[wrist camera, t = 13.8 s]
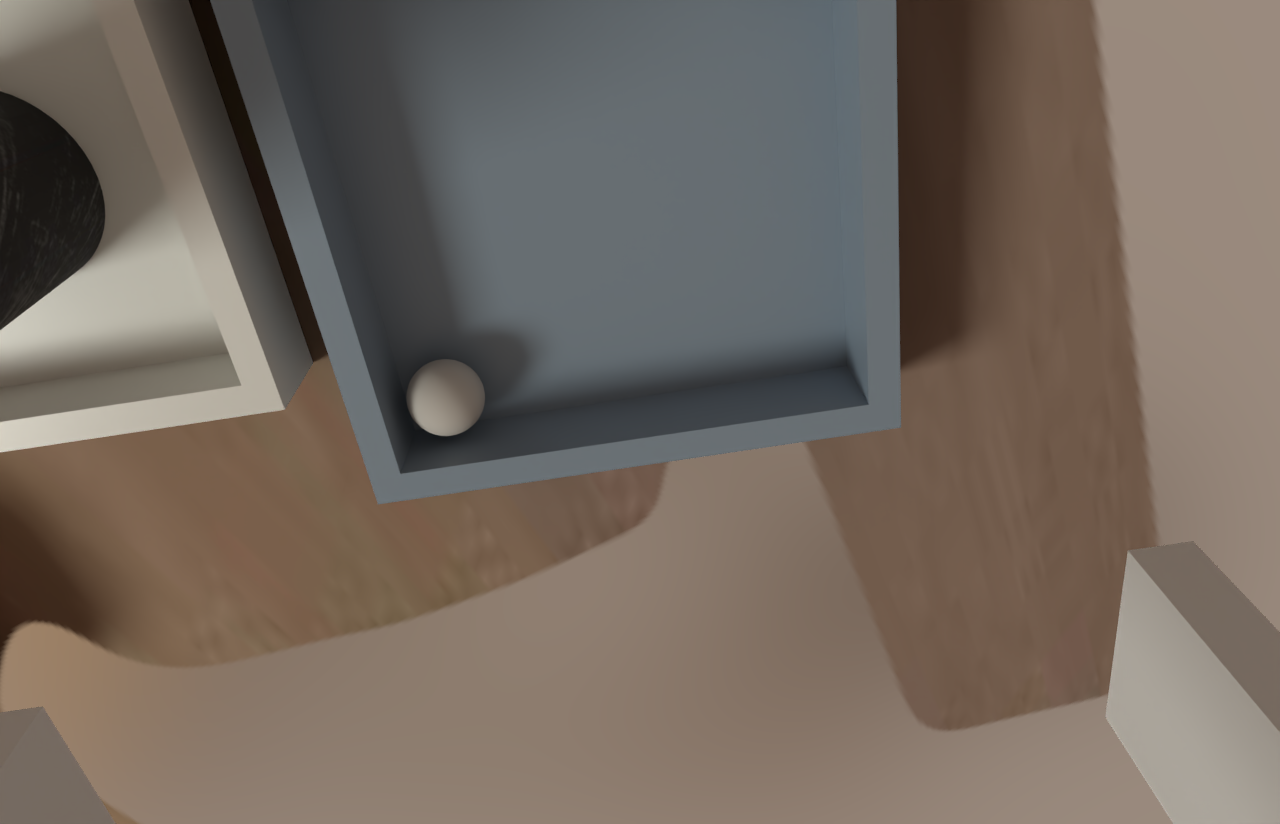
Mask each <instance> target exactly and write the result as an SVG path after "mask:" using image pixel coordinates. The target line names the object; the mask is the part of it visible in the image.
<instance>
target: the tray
mask: <svg viewBox="0 0 1280 824" xmlns="http://www.w3.org/2000/svg"><path fill="white" fill-rule="evenodd" d="M0 91H1V92H4V93H7V94H10V95H13V96H15V97H17V98H20V99H22V100H24V101H26V102H28V103H30V104H32V105H33V106H35V107H37V108H39V109H40V110H42V111H43V112H44V113H46V114H47V115H49V116H50V117H51V118H53V119H54V120H55V121H56V122H57V123H58V124H60V125H61V126H62V127H63V128H64V129H65V130H66V131H67V132H68V133H69V134H70V135H71V136H72V137H73V138H74V140H75V141H76V142H77V143H78V145H79V146H80V147H81V149H82V150H83V151H84V153H85V154H86V156H87V157H88V159H89V161H90V162H91V164H92V166H93V168H94V170H95V172H96V175H97V177H98V179H99V182H100V185H101V189H102V192H103V197H104V203H105V225H104V231H103V235H102V238H101V241H100V243H99V245H98V248H97V250H96V251H95V253H94V254H93V256H92V257H91V259H90V260H89V261H88V262H87V263H86V264H85V265H84V266H83V267H82V268H81V269H79V270H78V271H77V272H76V273H74V274H73V275H72V276H71V277H69V278H68V279H67V280H65V281H64V282H63V283H61V284H60V285H59V286H58V287H56V288H55V289H54V290H52V291H51V292H50V293H48V294H47V295H46V296H44V297H43V298H42V299H41V300H39V301H38V302H37V303H35V304H34V305H33V306H31V307H30V308H29V309H27V310H26V311H25V312H23V313H22V314H21V315H20V316H18V317H17V318H16V319H14V320H13V321H12V322H10V323H9V324H8V325H6V326H5V327H4V328H3V329H1V330H0V452H6V451H13V450H19V449H26V448H33V447H39V446H46V445H52V444H59V443H66V442H72V441H79V440H86V439H92V438H99V437H106V436H112V435H119V434H126V433H132V432H139V431H146V430H152V429H159V428H166V427H172V426H179V425H186V424H192V423H199V422H206V421H212V420H219V419H226V418H232V417H239V416H246V415H252V414H259V413H266V412H272V411H279V410H285V408H286V407H287V405H288V404H289V402H290V400H291V399H292V397H293V395H294V394H295V392H296V390H297V389H298V387H299V385H300V384H301V382H302V381H303V379H304V377H305V376H306V374H307V372H308V371H309V369H310V367H311V366H312V364H313V361H312V358H311V355H310V352H309V349H308V347H307V344H306V341H305V338H304V335H303V332H302V329H301V326H300V323H299V320H298V317H297V315H296V312H295V309H294V306H293V303H292V300H291V297H290V294H289V291H288V288H287V285H286V283H285V280H284V277H283V274H282V271H281V268H280V265H279V262H278V259H277V256H276V253H275V250H274V248H273V245H272V242H271V239H270V236H269V233H268V230H267V227H266V224H265V221H264V218H263V216H262V213H261V210H260V207H259V204H258V201H257V198H256V195H255V192H254V189H253V186H252V184H251V181H250V178H249V175H248V172H247V169H246V166H245V163H244V160H243V157H242V154H241V152H240V149H239V146H238V143H237V140H236V137H235V134H234V131H233V128H232V125H231V122H230V120H229V117H228V114H227V111H226V108H225V105H224V102H223V99H222V96H221V93H220V90H219V88H218V85H217V82H216V79H215V76H214V73H213V70H212V67H211V64H210V61H209V58H208V56H207V53H206V50H205V47H204V44H203V41H202V38H201V35H200V32H199V29H198V26H197V23H196V21H195V18H194V15H193V12H192V9H191V6H190V3H189V0H0Z"/></svg>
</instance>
